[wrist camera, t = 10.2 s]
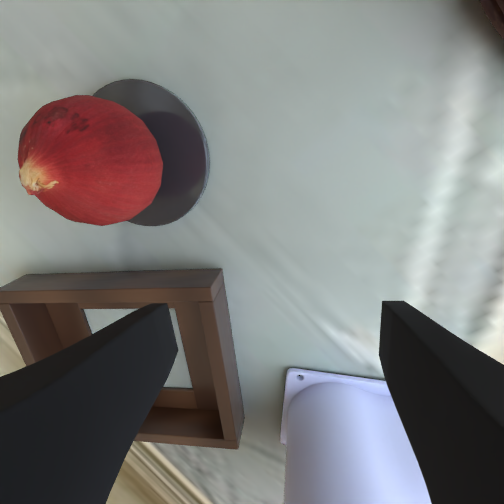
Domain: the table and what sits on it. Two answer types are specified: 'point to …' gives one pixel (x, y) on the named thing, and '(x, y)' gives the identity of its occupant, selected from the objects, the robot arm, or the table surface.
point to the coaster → (167, 147)
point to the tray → (135, 297)
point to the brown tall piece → (495, 14)
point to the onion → (89, 160)
